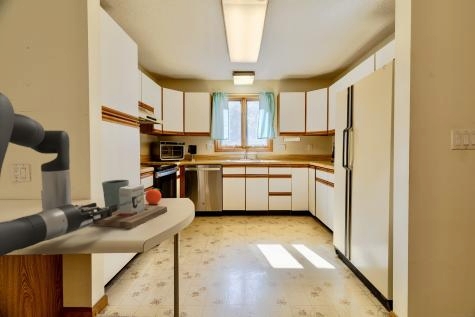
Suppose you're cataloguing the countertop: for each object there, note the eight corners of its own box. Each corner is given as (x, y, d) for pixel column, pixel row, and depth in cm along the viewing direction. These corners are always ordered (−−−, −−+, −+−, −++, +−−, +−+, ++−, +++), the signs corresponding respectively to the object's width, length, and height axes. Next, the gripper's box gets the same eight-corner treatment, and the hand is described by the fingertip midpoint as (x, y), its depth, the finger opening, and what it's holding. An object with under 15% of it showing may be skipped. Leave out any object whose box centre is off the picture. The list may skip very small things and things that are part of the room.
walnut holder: (93, 224, 83) (92, 218, 83) (134, 209, 102) (133, 204, 102) (131, 228, 79) (131, 222, 78) (167, 211, 98) (166, 206, 98)
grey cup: (104, 214, 96) (102, 184, 95) (102, 208, 104) (100, 180, 103) (132, 210, 101) (130, 181, 100) (127, 205, 110) (126, 178, 109)
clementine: (161, 201, 116) (160, 186, 116) (165, 204, 110) (165, 188, 110) (143, 203, 112) (143, 188, 111) (147, 206, 106) (147, 190, 105)
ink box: (131, 221, 86) (130, 188, 85) (119, 220, 87) (117, 188, 86) (145, 214, 94) (144, 184, 93) (134, 214, 95) (133, 184, 94)
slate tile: (31, 231, 77) (31, 229, 77) (70, 219, 90) (70, 217, 90) (62, 235, 73) (61, 232, 73) (98, 221, 86) (98, 219, 86)
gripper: (75, 210, 61) (123, 196, 76) (35, 206, 65) (88, 194, 80) (77, 239, 61) (124, 219, 77) (37, 233, 66) (89, 216, 81)
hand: (106, 206), depth 79 cm, fingers open, 8 cm apart
